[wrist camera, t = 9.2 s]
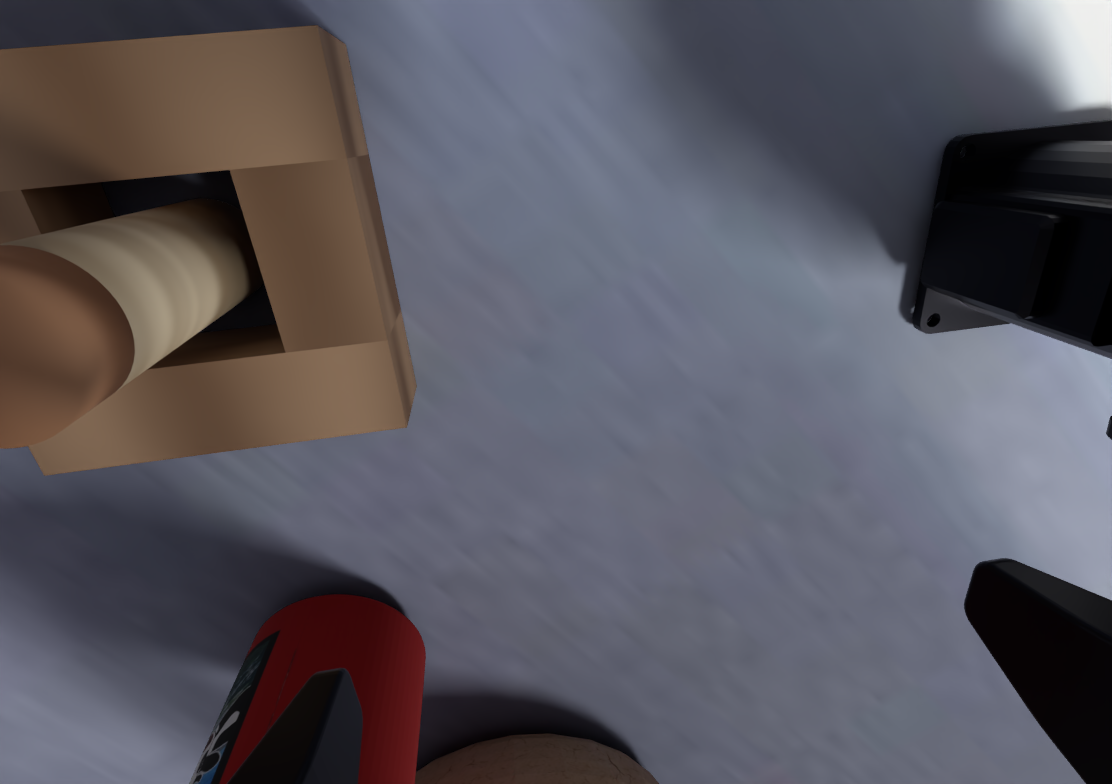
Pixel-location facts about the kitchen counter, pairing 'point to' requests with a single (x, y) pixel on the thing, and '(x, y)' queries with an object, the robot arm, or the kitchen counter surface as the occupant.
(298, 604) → the beverage can
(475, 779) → the potted plant
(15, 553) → the kitchen counter surface
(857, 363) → the kitchen counter surface
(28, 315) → the wooden dowel
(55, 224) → the square wooden frame
